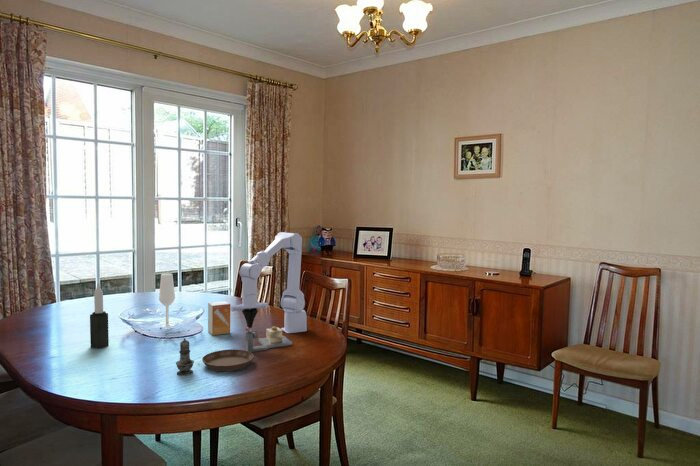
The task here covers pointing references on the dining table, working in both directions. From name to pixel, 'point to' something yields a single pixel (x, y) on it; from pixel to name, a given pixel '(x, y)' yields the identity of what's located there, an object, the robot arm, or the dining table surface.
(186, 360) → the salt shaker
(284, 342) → the grey panel board
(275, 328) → the block
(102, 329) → the black and grey bottle
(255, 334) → the lever
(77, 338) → the dining table surface
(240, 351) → the plant saucer
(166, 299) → the champagne flute
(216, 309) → the small box
